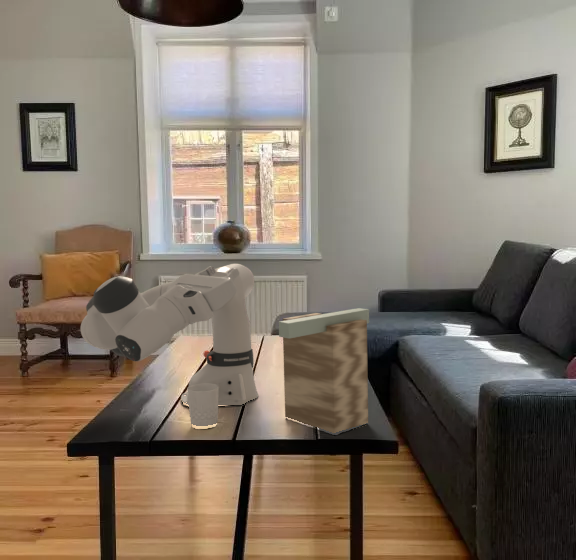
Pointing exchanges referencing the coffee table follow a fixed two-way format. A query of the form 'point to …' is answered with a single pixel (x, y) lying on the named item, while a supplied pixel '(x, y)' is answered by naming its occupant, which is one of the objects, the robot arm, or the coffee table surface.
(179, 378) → the coffee table surface
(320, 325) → the gray-green block
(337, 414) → the wooden box
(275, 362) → the coffee table surface
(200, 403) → the white cup
